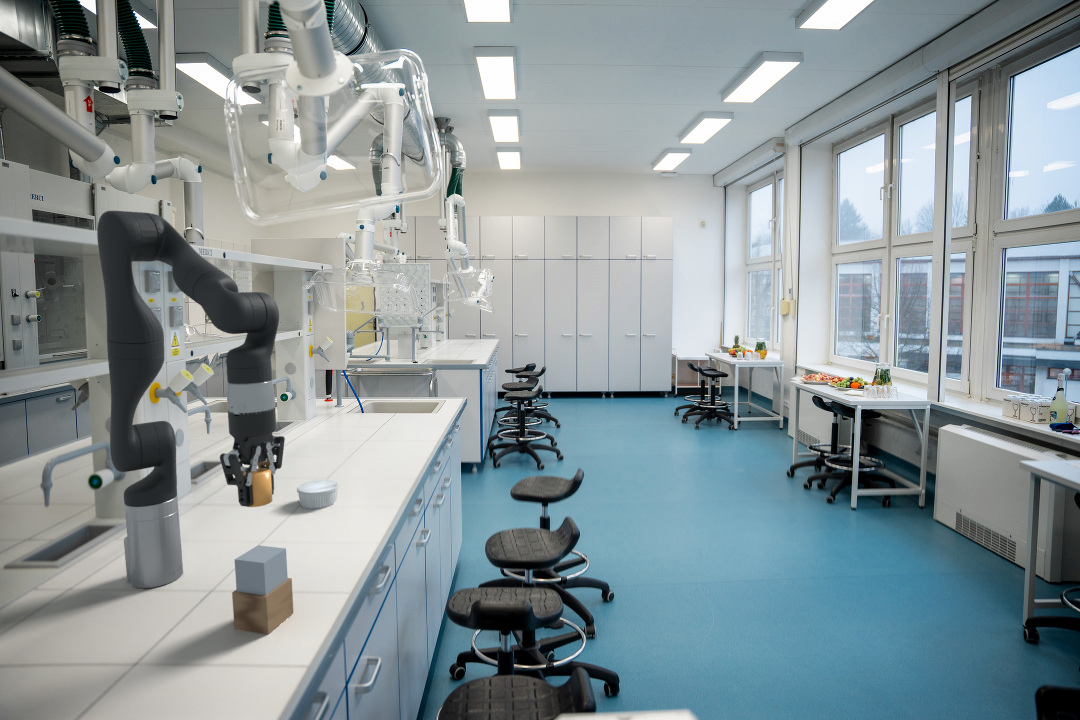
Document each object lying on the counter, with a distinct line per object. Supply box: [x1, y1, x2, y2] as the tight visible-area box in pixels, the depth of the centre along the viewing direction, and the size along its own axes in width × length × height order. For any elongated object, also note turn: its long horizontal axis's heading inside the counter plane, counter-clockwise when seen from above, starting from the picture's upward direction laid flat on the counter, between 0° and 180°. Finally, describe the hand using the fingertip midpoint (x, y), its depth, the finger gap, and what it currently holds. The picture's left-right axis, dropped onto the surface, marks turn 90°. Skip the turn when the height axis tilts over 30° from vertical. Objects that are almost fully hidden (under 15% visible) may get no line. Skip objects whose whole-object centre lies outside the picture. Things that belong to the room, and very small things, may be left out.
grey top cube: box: [234, 544, 289, 595], centre depth 107 cm, size 6×6×6 cm
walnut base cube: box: [231, 577, 294, 636], centre depth 108 cm, size 7×7×7 cm
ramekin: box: [296, 479, 340, 510], centre depth 168 cm, size 11×11×5 cm
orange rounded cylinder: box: [243, 467, 273, 508], centre depth 105 cm, size 5×5×6 cm
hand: (257, 499), depth 106 cm, fingers closed on orange rounded cylinder, 4 cm apart
